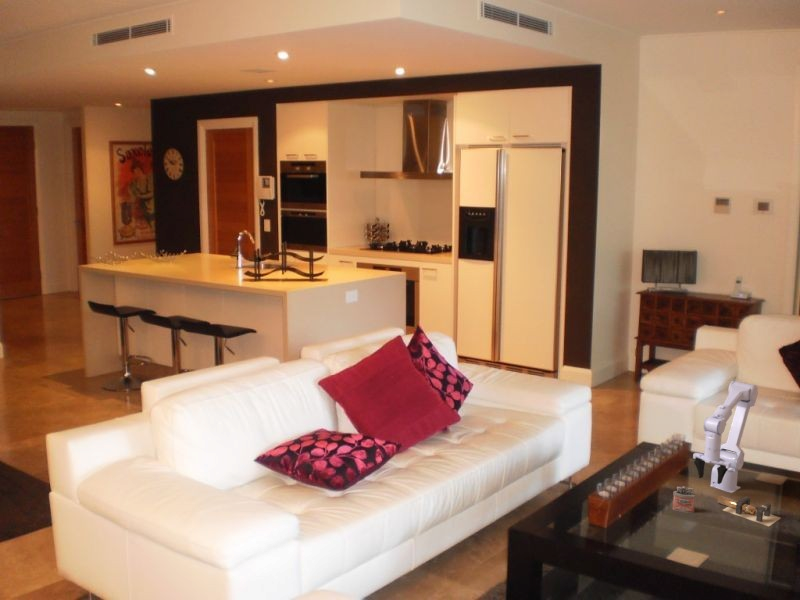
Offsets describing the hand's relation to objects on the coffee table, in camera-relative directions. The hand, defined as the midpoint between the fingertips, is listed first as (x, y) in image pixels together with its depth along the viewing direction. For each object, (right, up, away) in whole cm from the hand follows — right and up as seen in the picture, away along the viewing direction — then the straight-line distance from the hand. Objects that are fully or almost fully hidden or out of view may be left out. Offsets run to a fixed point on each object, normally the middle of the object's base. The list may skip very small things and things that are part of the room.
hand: (710, 480), depth 328 cm
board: (+11, -11, -11) cm, 19 cm away
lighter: (-13, -11, -8) cm, 18 cm away
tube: (+7, -9, -7) cm, 14 cm away
